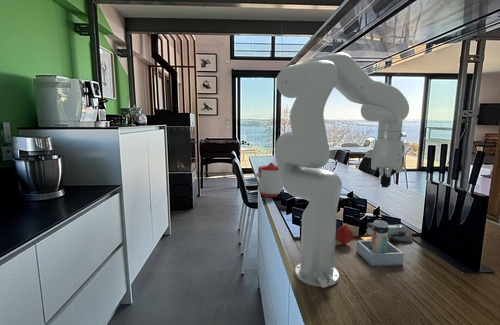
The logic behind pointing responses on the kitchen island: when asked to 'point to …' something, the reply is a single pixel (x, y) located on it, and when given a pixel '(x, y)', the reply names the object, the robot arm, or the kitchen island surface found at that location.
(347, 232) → the onion
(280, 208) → the kitchen island surface
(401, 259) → the tray
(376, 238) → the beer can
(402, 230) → the crank arm
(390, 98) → the robot arm
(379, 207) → the kitchen island surface
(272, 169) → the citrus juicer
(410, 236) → the crank base
